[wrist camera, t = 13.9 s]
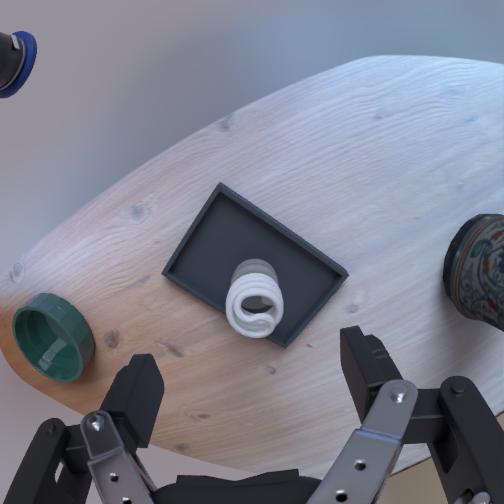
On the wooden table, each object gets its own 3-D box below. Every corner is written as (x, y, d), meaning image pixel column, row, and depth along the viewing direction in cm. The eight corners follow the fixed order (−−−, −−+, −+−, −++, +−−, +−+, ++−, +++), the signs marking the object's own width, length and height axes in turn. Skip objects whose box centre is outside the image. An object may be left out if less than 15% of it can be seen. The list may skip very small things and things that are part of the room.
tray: (165, 268, 40) (160, 274, 38) (220, 181, 36) (218, 183, 34) (284, 340, 43) (285, 349, 41) (345, 269, 39) (349, 275, 38)
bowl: (23, 332, 44) (8, 347, 39) (36, 275, 40) (18, 288, 36) (83, 377, 47) (72, 395, 42) (106, 327, 43) (92, 345, 38)
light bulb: (223, 274, 39) (210, 325, 28) (249, 239, 38) (247, 280, 26) (259, 298, 40) (260, 355, 29) (286, 266, 39) (298, 314, 27)
